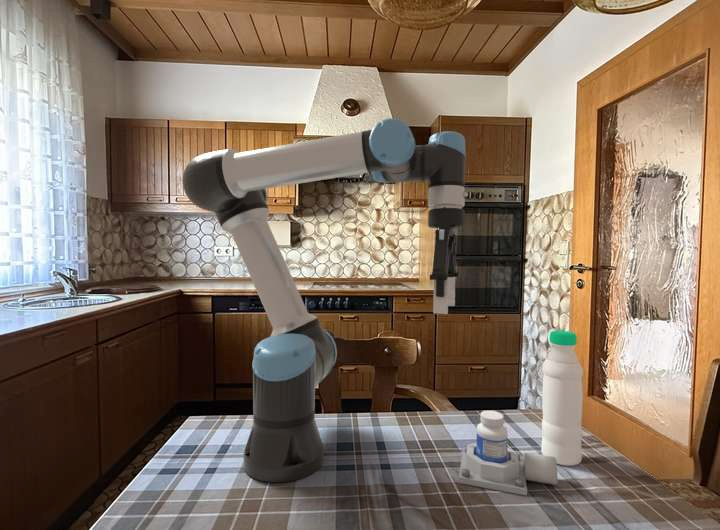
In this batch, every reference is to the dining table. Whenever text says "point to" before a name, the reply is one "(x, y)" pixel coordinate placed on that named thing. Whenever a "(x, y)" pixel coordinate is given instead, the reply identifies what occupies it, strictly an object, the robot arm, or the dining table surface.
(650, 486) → the dining table surface
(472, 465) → the fitting
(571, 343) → the water bottle
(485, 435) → the pill bottle
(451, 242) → the robot arm
